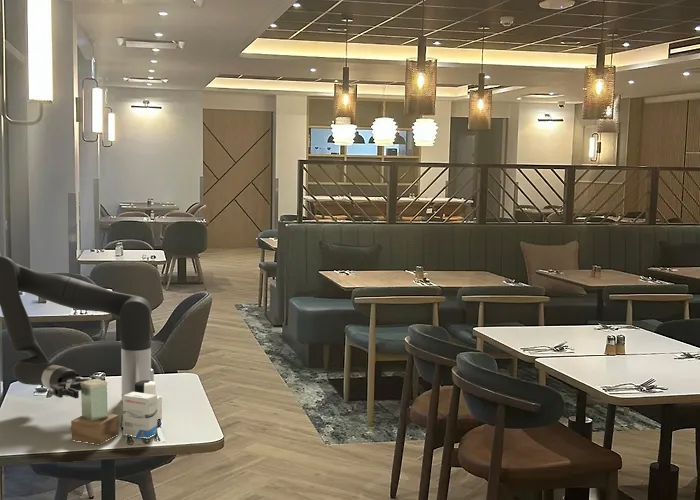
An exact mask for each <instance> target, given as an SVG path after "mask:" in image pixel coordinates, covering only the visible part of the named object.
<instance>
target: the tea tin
mask: <svg viewBox="0 0 700 500" xmlns="http://www.w3.org/2000/svg"><path fill="white" fill-rule="evenodd" d="M80 385H81V391H80V395H81V399H80V400H81V416H82V418H84V419H87V420H89V421H95V420H99V419H103V418H106V417H108V413H109V411H108V409H109V408H108V407H109V406H108V405H109V404H108V381H106V380H104V381H103V380H100V379H92V380H88V381H84V382H80Z"/></svg>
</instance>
